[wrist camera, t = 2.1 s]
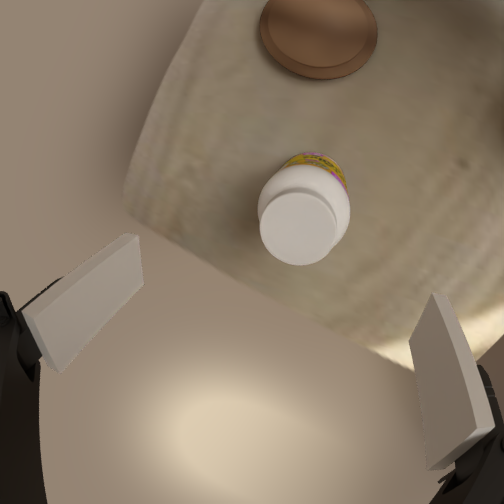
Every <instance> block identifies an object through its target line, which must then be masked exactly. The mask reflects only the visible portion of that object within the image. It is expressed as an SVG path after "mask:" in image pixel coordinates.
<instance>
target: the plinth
mask: <svg viewBox="0 0 504 504" xmlns="http://www.w3.org/2000/svg"><path fill="white" fill-rule="evenodd" d="M260 33H261V37H262V40H263V43H264V45H265V47H266V48H267V50H268V52H269V53H270V54H271V55H272V56H273V58H274V59H275V60H277V61H278V62H279V63H280V64H281V65H282V66H284V67H285V68H286V69H288V70H290V71H292V72H294V73H296V74H298V75H301V76H304V77H308V78H313V79H335V78H340V77H344V76H346V75H349V74H351V73H353V72H355V71H356V70H358V69H359V68H361V67H362V66H363V65H364V64H365V63H366V62H367V61H368V59H369V58H370V56H371V55H372V53H373V51H374V49H375V46H376V43H377V25H376V21H375V19H374V16H373V14H372V12H371V10H370V9H369V8H368V6H367V5H366V4H365V3H364V1H363V0H269V1H268V3H267V4H266V6H265V7H264V9H263V12H262V15H261V19H260Z"/></svg>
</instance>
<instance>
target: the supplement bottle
mask: <svg viewBox="0 0 504 504" xmlns="http://www.w3.org/2000/svg"><path fill="white" fill-rule="evenodd" d="M257 209H258V218H259V222H260V226H259V227H260V235H261V239H262V241H263V243H264V245H265V247H266V248H267V250H268V251H269V252H270V253H271V254H272V255H273V256H274V257H276V258H277V259H279V260H280V261H282V262H285V263H287V264H291V265H299V266H300V265H309V264H312V263H315V262H317V261H319V260H321V259H322V258H324V257H325V256H326V255H327V254H328V253H329V252H330V250H331V249H332V247H334V246H335V245H336V244H337V243H338V242H339V241H340V240H341V238H342V237H343V235H344V234H345V232H346V230H347V227H348V224H349V220H350V204H349V198H348V192H347V186H346V181H345V177H344V174H343V172H342V170H341V168H340V167H339V165H338V164H337V163H336V162H335V161H334V160H332V159H331V158H330V157H328V156H326V155H324V154H321V153H316V152H306V153H302V154H299V155H296V156H295V157H293V158H291V159H290V160H289V161H288V162H287V163H285V164H284V165H283V166H282V167H281V168H280V169H279V170H278V171H277V172H276V173H275V174H274V175H273V176H272V177H271V178H270V179H269V180H268V182H267V183H266V184H265V186H264V187H263V189H262V191H261V193H260V196H259V200H258V208H257Z"/></svg>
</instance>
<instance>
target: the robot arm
mask: <svg viewBox="0 0 504 504" xmlns="http://www.w3.org/2000/svg"><path fill="white" fill-rule="evenodd" d="M143 285H144V279H143V272H142V262H141V254H140V243H139V235H136V234H132V233H124V234H123V235H121V236H120V237H118V238H117V239H116V240H114V241H113V242H111V243H110V244H108V245H107V246H105V247H104V248H103V249H101V250H100V251H98V252H97V253H96V254H94V255H93V256H91V257H90V258H89V259H87V260H86V261H84V262H83V263H82V264H80V265H79V266H78V267H76V268H75V269H74V270H72V271H71V272H70V273H68V274H67V275H66V276H64V277H62V278H59V279H57V280H55V281H54V282H53V283H51V284H50V285H49V286H47V288H45V289H44V290H42V291H41V293H40V294H37V295H36V296H35V297H34V298H32V299H31V300H30V301H29V302H28V303H26V304H25V305H24V306H23V307H22V308H20V309H19V310H18V311H17V312H15V310H14V308H13V305H12V303H11V300H10V298H9V295H8V294H7V293H6V292H4V291H0V504H47V499H46V493H45V487H44V480H43V472H42V463H41V452H40V436H39V386H40V369H41V366H40V362H39V359H40V358H41V357H42V356H43V358H44V360H45V362H46V364H47V366H49V367H50V368H51V369H53V370H54V371H56V372H58V373H59V374H61V373H62V372H63V371H64V369H65V368H66V367H67V366H68V365H69V363H71V361H72V360H73V359H74V358H75V357H76V356H77V355H78V354H79V353H80V352H81V350H82V349H83V348H84V347H85V346H86V345H87V344H88V343H89V342H90V341H91V339H93V337H94V336H95V335H96V334H97V333H98V332H99V331H100V330H101V329H102V328H103V327H104V326H105V325H106V324H107V322H108V321H109V320H110V319H111V318H112V317H113V316H114V315H115V314H116V313H117V312H118V311H119V310H120V309H121V308H122V307H123V306H124V305H125V304H126V303H127V302H128V301H129V300H130V299H131V297H133V296H134V295H135V294H136V293H137V291H138V290H140V288H141V287H142V286H143ZM409 345H410V349H411V354H412V359H413V364H414V369H415V375H416V380H417V386H418V392H419V398H420V405H421V413H422V421H423V430H424V440H425V452H426V467H427V470H439V469H445V468H446V467H448V466H449V465H450V464H452V463H453V462H454V461H455V467H456V468H455V469H454V470H453V471H451V472H450V473H448V474H447V475H445V476H444V477H443V478H441V479H440V480H439V481H438V483H441V482H442V481H444V480H446V481H445V482H444V484H443V485H442V486H441V488H440V489H439V491H438V492H437V494H436V495H435V496H434V498H433V499H432V500H431V502H430V503H429V504H504V423H503V419H502V416H501V412H500V409H499V405H498V402H497V399H496V397H495V393H494V390H493V388H492V384H491V381H490V378H489V375H488V374H487V373H486V371H485V370H484V368H483V367H482V366H481V365H476V363H475V360H474V357H473V355H472V352H471V349H470V347H469V344H468V342H467V340H466V337H465V335H464V332H463V330H462V328H461V326H460V323H459V321H458V319H457V317H456V314H455V312H454V310H453V308H452V306H451V304H450V302H449V300H448V298H447V296H446V295H443V294H438V293H431V296H430V298H429V300H428V302H427V305H426V307H425V309H424V311H423V313H422V315H421V317H420V320H419V322H418V324H417V326H416V328H415V330H414V332H413V334H412V335H411V337H410V339H409Z"/></svg>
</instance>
